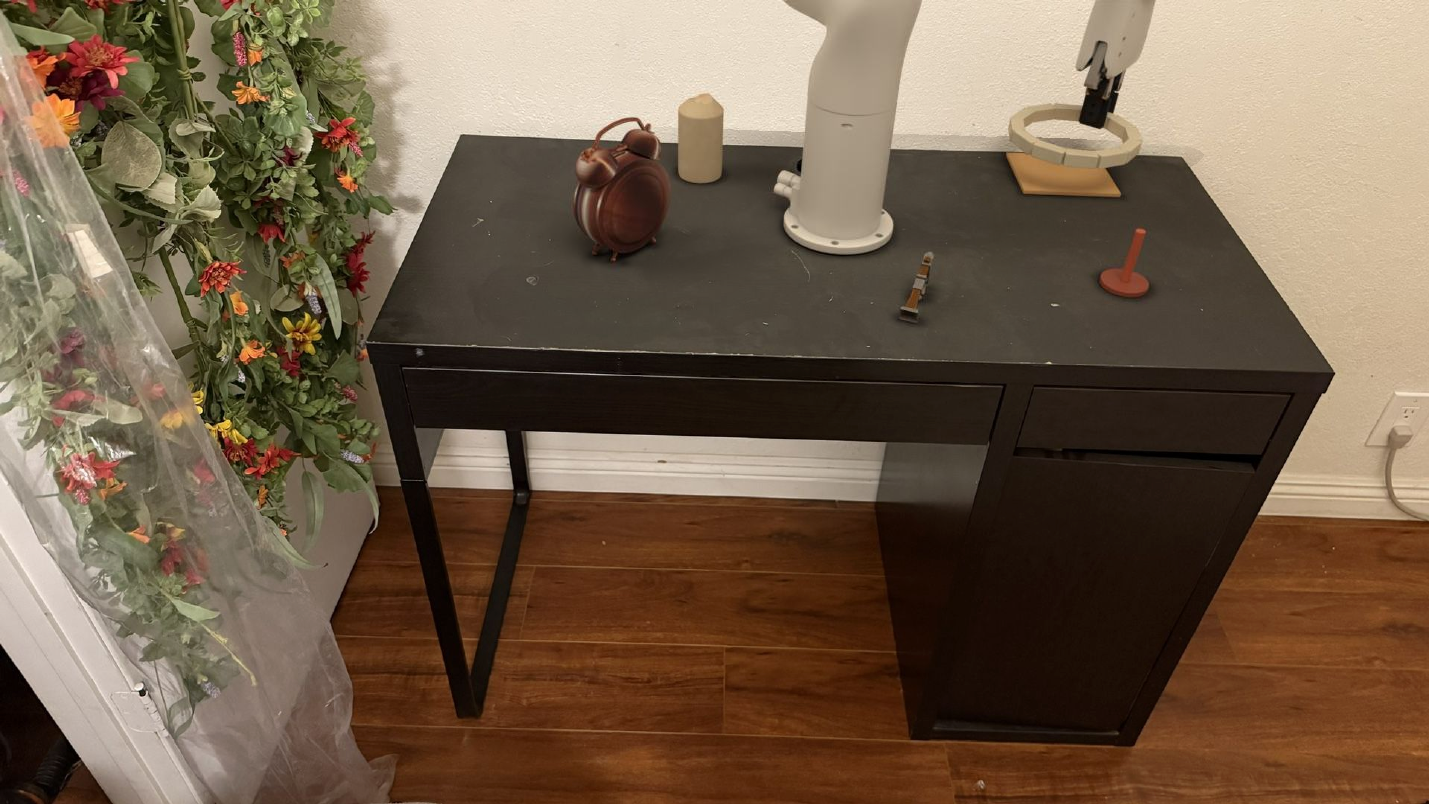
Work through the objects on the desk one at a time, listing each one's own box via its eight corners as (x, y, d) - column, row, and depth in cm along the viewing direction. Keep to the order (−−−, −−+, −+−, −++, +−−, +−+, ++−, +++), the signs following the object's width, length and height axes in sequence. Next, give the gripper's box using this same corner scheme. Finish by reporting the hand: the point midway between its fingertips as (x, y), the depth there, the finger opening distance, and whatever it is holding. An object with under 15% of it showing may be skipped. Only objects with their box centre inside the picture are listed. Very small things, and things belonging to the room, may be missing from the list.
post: (1091, 286, 107) (1108, 231, 103) (1110, 268, 110) (1126, 214, 106) (1136, 303, 104) (1155, 247, 100) (1154, 284, 107) (1173, 229, 103)
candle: (695, 160, 128) (696, 85, 122) (730, 172, 126) (733, 95, 120) (669, 175, 125) (668, 98, 119) (704, 188, 123) (706, 109, 116)
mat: (1023, 193, 123) (1024, 190, 123) (1005, 155, 132) (1006, 152, 132) (1120, 197, 123) (1121, 193, 123) (1096, 158, 132) (1097, 155, 131)
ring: (1107, 180, 116) (1110, 168, 115) (986, 142, 124) (989, 130, 123) (1156, 138, 125) (1160, 126, 124) (1041, 105, 133) (1044, 94, 132)
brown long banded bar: (937, 275, 106) (939, 249, 102) (915, 336, 103) (917, 311, 99) (920, 271, 106) (922, 245, 102) (898, 332, 103) (900, 307, 99)
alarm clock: (645, 225, 115) (642, 99, 105) (674, 240, 112) (674, 113, 103) (572, 259, 109) (562, 128, 99) (601, 275, 106) (593, 143, 97)
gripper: (1129, -46, 124) (1091, 97, 135) (1076, -18, 114) (1040, 133, 126) (1189, -34, 120) (1145, 112, 132) (1140, -4, 111) (1097, 150, 122)
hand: (1094, 122), depth 129 cm, fingers closed on ring, 1 cm apart
